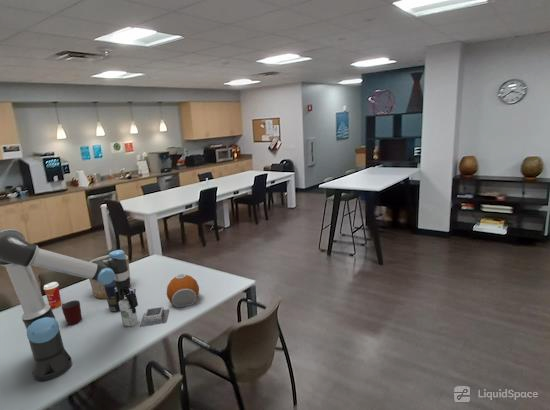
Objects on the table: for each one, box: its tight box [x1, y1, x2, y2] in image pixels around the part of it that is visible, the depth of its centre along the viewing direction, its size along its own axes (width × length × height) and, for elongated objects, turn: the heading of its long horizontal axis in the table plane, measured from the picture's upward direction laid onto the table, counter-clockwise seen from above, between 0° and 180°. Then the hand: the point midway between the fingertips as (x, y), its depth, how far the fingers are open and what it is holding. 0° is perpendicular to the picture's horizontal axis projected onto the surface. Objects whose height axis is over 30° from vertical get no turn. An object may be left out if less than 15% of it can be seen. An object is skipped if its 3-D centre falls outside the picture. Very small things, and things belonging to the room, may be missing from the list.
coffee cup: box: [43, 281, 62, 310], centre depth 218 cm, size 8×8×15 cm
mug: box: [61, 300, 83, 326], centre depth 199 cm, size 12×9×11 cm
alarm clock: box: [166, 273, 200, 308], centre depth 210 cm, size 19×18×17 cm
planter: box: [88, 254, 131, 299], centre depth 232 cm, size 26×26×22 cm
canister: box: [104, 280, 126, 312], centre depth 208 cm, size 10×10×18 cm
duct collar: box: [139, 306, 170, 328], centre depth 195 cm, size 14×14×4 cm
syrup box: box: [119, 297, 139, 328], centre depth 190 cm, size 6×6×14 cm
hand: (129, 317), depth 191 cm, fingers closed on syrup box, 6 cm apart
